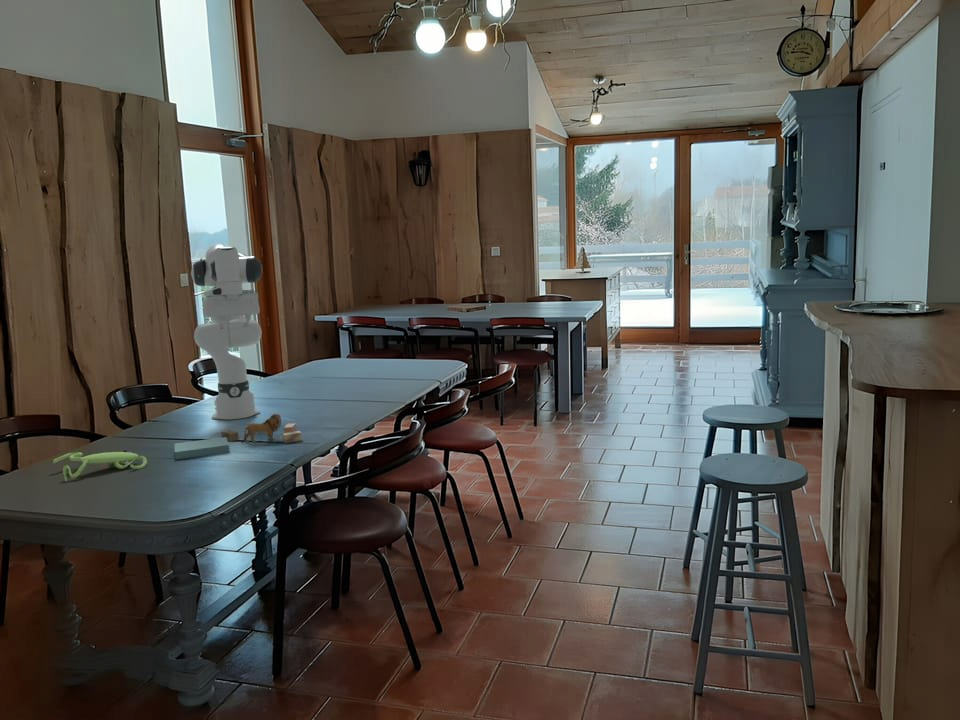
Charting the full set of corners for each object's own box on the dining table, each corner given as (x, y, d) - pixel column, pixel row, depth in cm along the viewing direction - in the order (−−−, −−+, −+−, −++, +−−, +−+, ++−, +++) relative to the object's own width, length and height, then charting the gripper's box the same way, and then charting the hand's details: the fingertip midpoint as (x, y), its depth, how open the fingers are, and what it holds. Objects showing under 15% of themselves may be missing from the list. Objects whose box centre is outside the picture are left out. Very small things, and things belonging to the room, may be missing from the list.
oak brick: (285, 443, 273) (284, 435, 272) (282, 441, 275) (282, 433, 275) (302, 440, 276) (301, 432, 275) (299, 439, 278) (298, 430, 278)
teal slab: (175, 450, 269) (174, 443, 269) (227, 443, 275) (226, 436, 275) (175, 459, 258) (174, 452, 258) (229, 452, 264) (228, 444, 264)
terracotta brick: (288, 431, 290) (287, 423, 289) (296, 431, 290) (295, 423, 289) (284, 435, 284) (283, 427, 283) (292, 435, 284) (292, 427, 283)
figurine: (55, 470, 254) (52, 453, 253) (143, 455, 266) (141, 439, 265) (54, 484, 238) (51, 467, 237) (148, 468, 250) (146, 451, 249)
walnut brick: (221, 439, 282) (221, 431, 281) (229, 438, 284) (228, 430, 284) (231, 442, 278) (230, 433, 278) (238, 440, 280) (238, 432, 280)
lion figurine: (280, 436, 283) (278, 411, 281) (284, 439, 278) (282, 414, 277) (239, 443, 276) (237, 418, 274) (242, 446, 271) (240, 420, 270)
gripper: (254, 290, 295) (257, 326, 296) (199, 292, 283) (203, 330, 283) (260, 288, 290) (264, 326, 291) (205, 290, 278) (209, 329, 278)
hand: (233, 328), depth 287 cm, fingers open, 8 cm apart
